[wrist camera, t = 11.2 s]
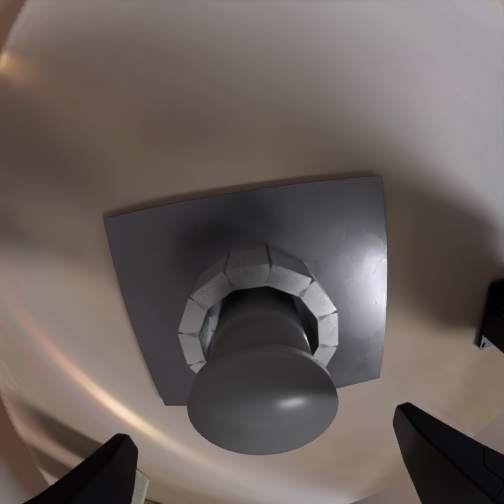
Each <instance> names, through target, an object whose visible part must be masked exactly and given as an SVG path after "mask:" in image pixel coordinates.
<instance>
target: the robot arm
mask: <svg viewBox="0 0 504 504" xmlns="http://www.w3.org/2000/svg"><path fill="white" fill-rule="evenodd" d="M492 344H493V345H494V346H496V347H497V348H498V349H499V350H500V351H501V352H503V353H504V278H502V279H499V280H497V281H494V282H492V284H491V285H490V289H489V295H488V301H487V306H486V311H485V316H484V321H483V325H482V330H481V334H480V338H479V342H478V348H479V349H481V350H482V349H484V348H486V347H488V346H490V345H492ZM393 427H394V431H395V434H396V437H397V440H398V444H399V447H400V451H401V454H402V457H403V460H404V463H405V465H406V468H407V470H408V472H409V475H410V477H411V479H412V482H413V484H414V486H415V489H416V491H417V494H418V496H419V498H420V501H421V503H422V504H504V455H503V454H501V453H499V452H497V451H495V450H493V449H491V448H489V447H487V446H485V445H484V446H483V444H481V443H479V442H477V441H475V440H474V439H472V438H470V437H468V436H466V435H465V434H463V433H461V432H459V431H458V430H456V429H454V428H452V427H450V426H449V425H447V424H445V423H443V422H442V421H440V420H438V419H437V418H435V417H433V416H431V415H430V414H428V413H426V412H425V411H423V410H421V409H420V408H418V407H416V406H415V405H413V404H411V403H409V402H406V403H403V404H400V405H398V406H397V407H396V410H395V414H394V418H393ZM137 460H138V449H137V447H136V445H135V444H134V442H133V441H132V439H131V438H130V436H129V435H127V434H121V433H118V434H116V435H114V436H113V437H112V438H111V439H109V440H108V441H107V442H106V443H105V444H103V445H102V446H101V447H100V448H99V449H97V450H96V451H95V452H94V453H92V454H91V455H90V456H89V457H87V458H86V459H85V460H84V461H82V462H81V463H80V464H79V465H77V466H76V467H75V468H74V469H72V470H71V471H70V472H69V473H67V474H66V475H65V476H63V477H62V478H61V479H59V480H58V481H57V482H55V483H54V484H53V485H51V486H50V487H49V488H47V489H46V490H44V491H43V492H42V493H40V494H39V495H37V496H35V497H34V498H32V499H30V500H28V501H27V502H25V503H23V504H131V502H132V497H133V493H134V488H135V480H136V469H137Z"/></svg>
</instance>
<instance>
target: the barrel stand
mask: <svg viewBox="0 0 504 504" xmlns="http://www.w3.org/2000/svg"><path fill="white" fill-rule="evenodd" d="M104 223H105V228H106V233H107V237H108V242H109V246H110V250H111V254H112V258H113V262H114V266H115V270H116V273H117V277H118V281H119V284H120V287H121V291H122V294H123V298H124V301H125V304H126V307H127V310H128V313H129V316H130V319H131V322H132V325H133V328H134V331H135V334H136V337H137V339H138V342H139V345H140V347H141V350H142V353H143V355H144V358H145V360H146V363H147V365H148V368H149V370H150V373H151V375H152V377H153V380H154V382H155V384H156V387H157V389H158V391H159V393H160V396H161V398H162V400H163V402H164V404H165V406H187V404H188V398H189V395H190V391H191V387H192V383H193V380H194V378H195V376H196V374H197V373H198V371H199V370H200V369H201V368H202V367H203V366H204V365H205V364H206V363H207V362H208V361H209V357H210V352H211V348H212V343H213V339H214V334H215V330H216V326H217V321H218V317H219V312H220V308H221V304H222V301H223V299H224V297H225V296H227V295H228V294H229V293H231V292H232V291H233V290H240V289H247V288H254V287H261V286H271V287H273V288H276V289H279V290H282V291H285V292H287V293H290V294H291V295H292V297H293V299H294V302H295V305H296V308H297V311H298V314H299V317H300V320H301V323H302V326H303V329H304V332H305V335H306V338H307V341H308V344H309V347H310V350H311V353H312V356H314V357H315V358H317V359H318V360H319V361H320V362H321V363H322V364H323V365H324V366H325V367H326V369H327V370H328V372H329V374H330V376H331V378H332V381H333V383H334V386H335V388H340V387H344V386H349V385H353V384H357V383H361V382H365V381H369V380H373V379H376V378H380V371H381V363H382V354H383V344H384V332H385V318H386V296H387V240H386V219H385V204H384V192H383V182H382V176H367V177H356V178H345V179H334V180H325V181H316V182H307V183H299V184H291V185H283V186H275V187H268V188H261V189H254V190H248V191H241V192H235V193H228V194H222V195H216V196H211V197H205V198H199V199H194V200H188V201H183V202H178V203H173V204H168V205H163V206H158V207H153V208H148V209H143V210H139V211H134V212H130V213H125V214H121V215H117V216H112V217H108V218H105V219H104Z"/></svg>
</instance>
